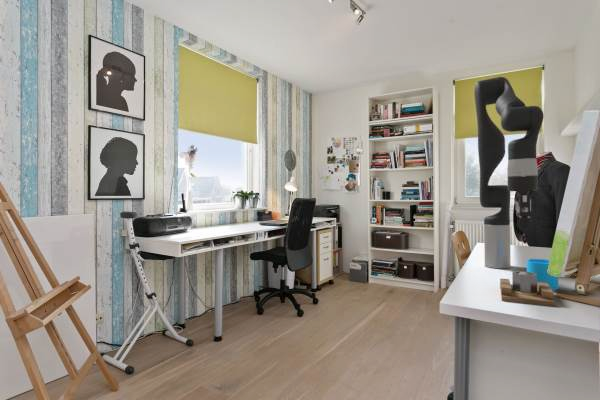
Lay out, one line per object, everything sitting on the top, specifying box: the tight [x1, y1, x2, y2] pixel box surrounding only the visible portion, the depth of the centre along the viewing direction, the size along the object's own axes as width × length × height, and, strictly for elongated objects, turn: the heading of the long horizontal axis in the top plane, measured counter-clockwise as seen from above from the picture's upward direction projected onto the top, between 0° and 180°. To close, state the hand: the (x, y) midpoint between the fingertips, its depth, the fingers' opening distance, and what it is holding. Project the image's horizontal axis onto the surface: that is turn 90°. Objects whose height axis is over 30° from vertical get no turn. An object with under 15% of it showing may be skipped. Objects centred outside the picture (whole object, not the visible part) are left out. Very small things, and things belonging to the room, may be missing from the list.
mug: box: [526, 258, 560, 291], centre depth 112 cm, size 12×8×8 cm
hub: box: [511, 270, 537, 294], centre depth 101 cm, size 6×6×5 cm
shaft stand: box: [499, 271, 556, 307], centre depth 101 cm, size 16×12×6 cm
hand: (523, 229), depth 103 cm, fingers open, 8 cm apart
